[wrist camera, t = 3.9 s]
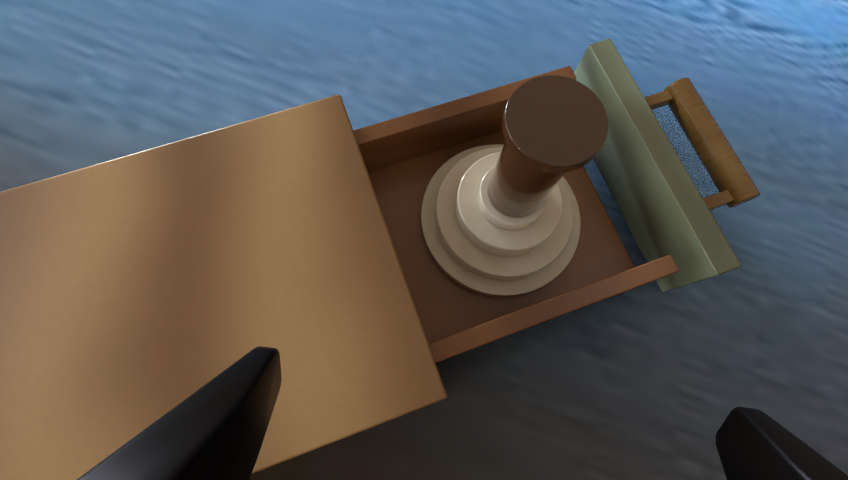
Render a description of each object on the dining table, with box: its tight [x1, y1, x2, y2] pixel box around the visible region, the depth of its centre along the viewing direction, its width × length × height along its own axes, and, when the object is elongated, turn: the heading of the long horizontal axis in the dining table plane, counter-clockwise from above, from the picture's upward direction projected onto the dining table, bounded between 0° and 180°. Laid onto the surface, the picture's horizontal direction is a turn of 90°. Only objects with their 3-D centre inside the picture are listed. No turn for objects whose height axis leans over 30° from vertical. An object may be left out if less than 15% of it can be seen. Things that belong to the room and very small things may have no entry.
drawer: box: [353, 39, 760, 363], centre depth 21 cm, size 19×12×4 cm, turn 110°
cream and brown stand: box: [421, 75, 608, 297], centre depth 18 cm, size 8×8×9 cm
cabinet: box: [0, 95, 447, 480], centre depth 20 cm, size 16×14×6 cm
